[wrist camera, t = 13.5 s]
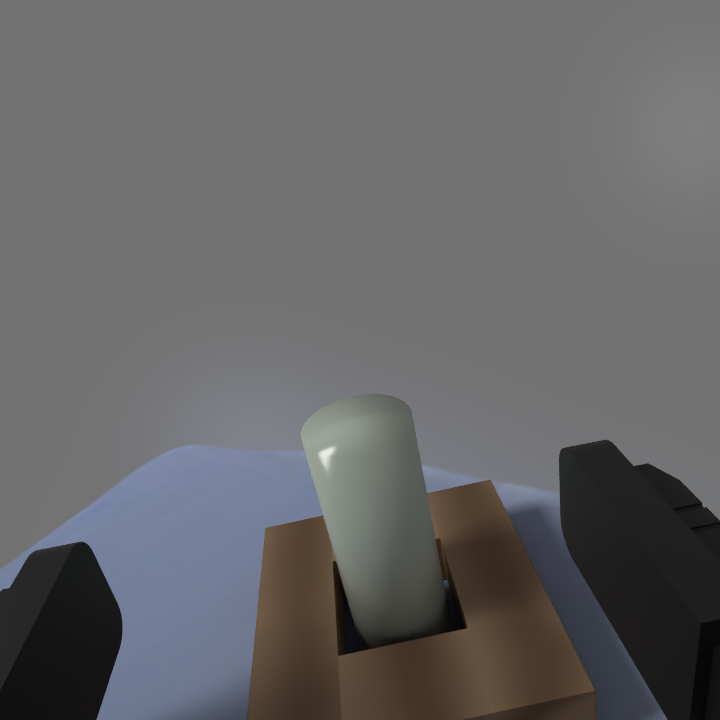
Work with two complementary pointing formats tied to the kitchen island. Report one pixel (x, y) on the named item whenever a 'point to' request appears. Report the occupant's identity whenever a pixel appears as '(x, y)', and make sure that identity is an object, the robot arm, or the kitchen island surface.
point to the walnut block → (425, 655)
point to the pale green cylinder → (378, 517)
